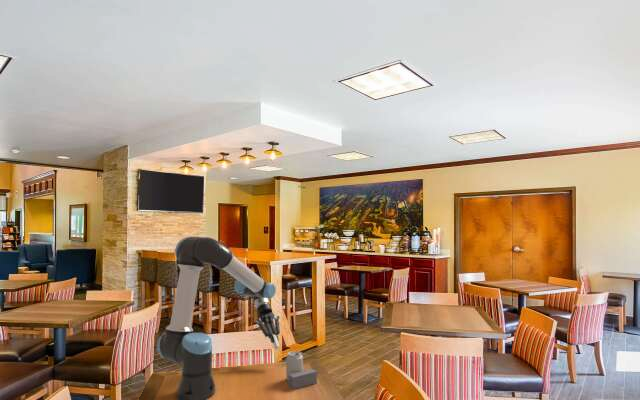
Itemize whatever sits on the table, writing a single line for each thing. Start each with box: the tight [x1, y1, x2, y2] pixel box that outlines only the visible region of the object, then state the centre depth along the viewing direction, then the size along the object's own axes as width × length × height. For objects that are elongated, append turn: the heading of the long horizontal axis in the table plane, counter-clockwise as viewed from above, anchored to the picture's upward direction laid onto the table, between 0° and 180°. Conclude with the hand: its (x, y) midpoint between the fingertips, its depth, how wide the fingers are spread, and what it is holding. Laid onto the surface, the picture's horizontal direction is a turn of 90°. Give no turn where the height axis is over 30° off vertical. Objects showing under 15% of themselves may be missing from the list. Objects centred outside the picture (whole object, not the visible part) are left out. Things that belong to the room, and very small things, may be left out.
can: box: [285, 350, 304, 382], centre depth 178 cm, size 8×8×12 cm
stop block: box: [288, 368, 318, 390], centre depth 173 cm, size 12×4×5 cm, turn 124°
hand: (277, 347), depth 193 cm, fingers closed
